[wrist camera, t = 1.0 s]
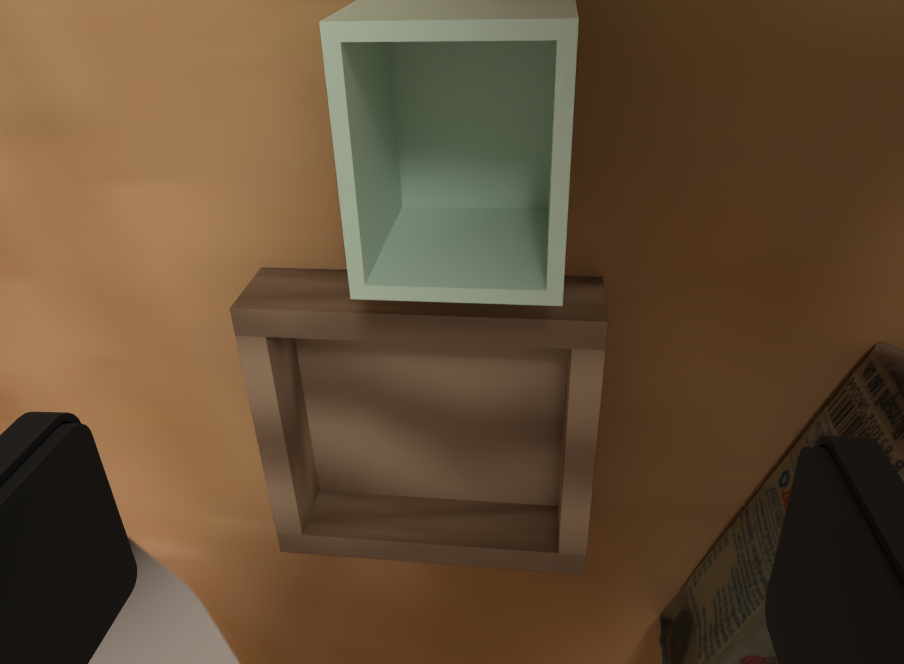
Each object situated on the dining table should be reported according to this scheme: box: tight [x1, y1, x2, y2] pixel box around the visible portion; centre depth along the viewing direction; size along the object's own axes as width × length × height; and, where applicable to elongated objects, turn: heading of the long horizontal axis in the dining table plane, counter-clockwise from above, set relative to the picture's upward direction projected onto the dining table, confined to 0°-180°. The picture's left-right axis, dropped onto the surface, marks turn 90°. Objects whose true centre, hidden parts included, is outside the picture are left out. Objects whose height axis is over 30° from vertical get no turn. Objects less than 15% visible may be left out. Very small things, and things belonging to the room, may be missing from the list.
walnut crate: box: [230, 268, 608, 574], centre depth 32 cm, size 13×14×4 cm
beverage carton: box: [660, 343, 904, 664], centre depth 32 cm, size 8×19×7 cm, turn 161°
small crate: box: [319, 0, 579, 306], centre depth 23 cm, size 8×6×7 cm
